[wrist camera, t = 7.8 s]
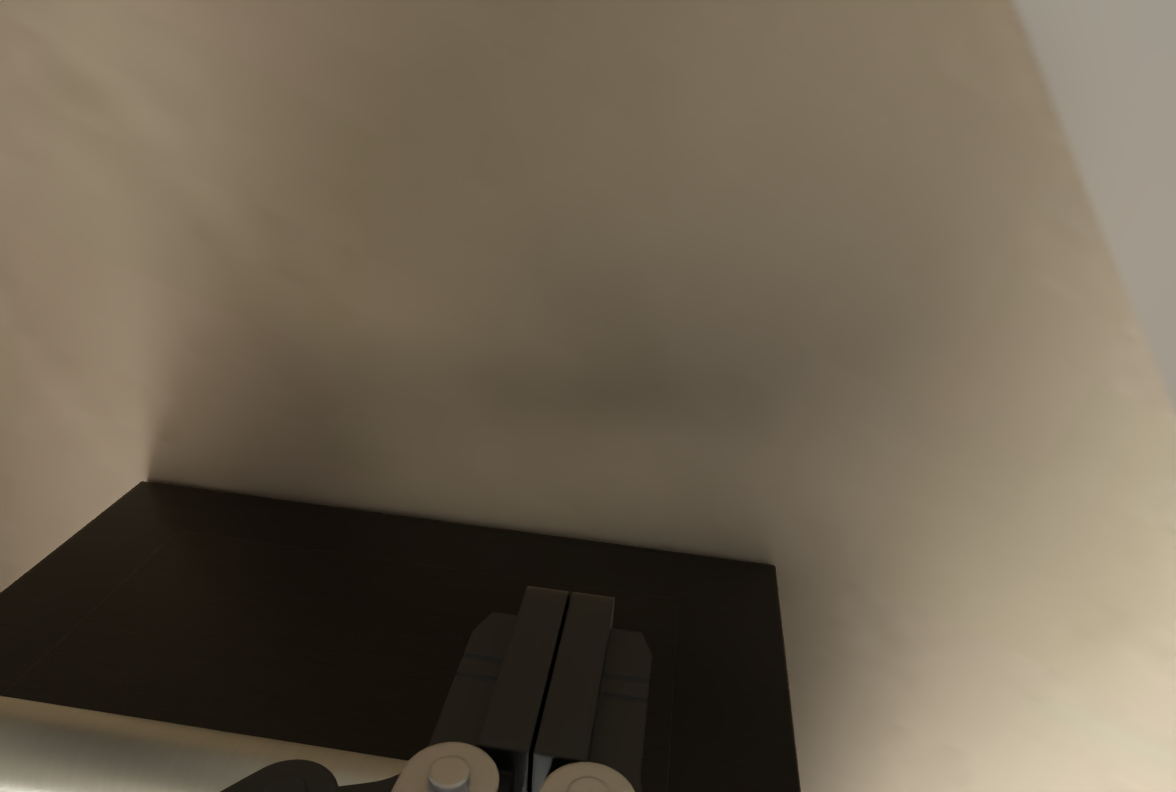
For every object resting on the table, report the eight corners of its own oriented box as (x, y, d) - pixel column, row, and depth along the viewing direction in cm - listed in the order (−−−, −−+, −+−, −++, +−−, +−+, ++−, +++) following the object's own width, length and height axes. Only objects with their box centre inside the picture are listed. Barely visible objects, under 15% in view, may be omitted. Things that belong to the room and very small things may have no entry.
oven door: (125, 371, 27) (-560, 770, 12) (796, 451, 25) (909, 1033, 10) (147, 523, 29) (-417, 1017, 14) (767, 609, 27) (828, 1272, 13)
